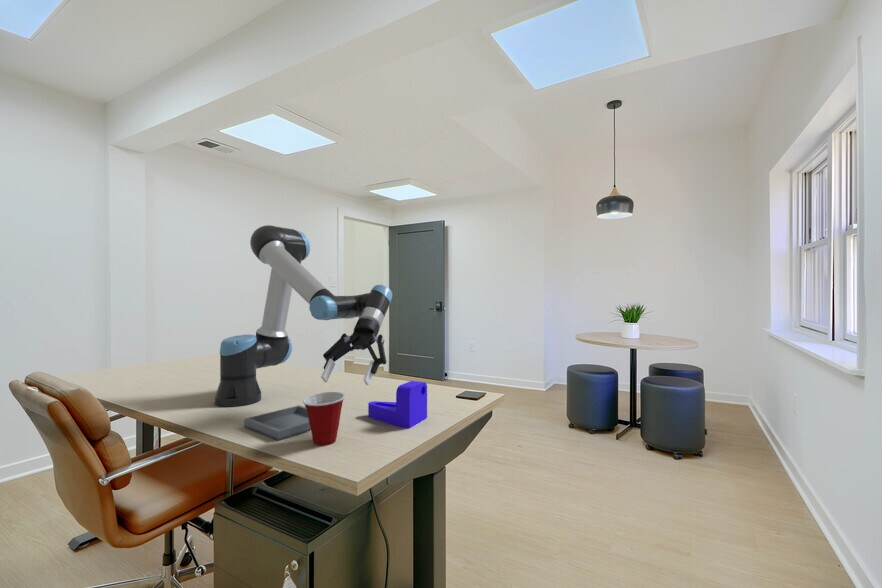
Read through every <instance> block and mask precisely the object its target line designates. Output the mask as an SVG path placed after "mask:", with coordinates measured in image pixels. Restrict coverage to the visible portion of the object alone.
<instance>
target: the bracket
mask: <svg viewBox="0 0 882 588" xmlns="http://www.w3.org/2000/svg"><path fill="white" fill-rule="evenodd" d="M395 399H396V400H395V401H377V400H375V401H369V402H368V403H367V404H368V406H367V408H368V409H367V411H368V413H367V415H368V418H371V419H372V420H376V421H379V422H382V423H385V424H388V425H390V426H394V427H397V426H398V427H397V428H403V429H409V428H410V429H412V428H413V427H415V426H416V424H417V425H419V424H420V423H421V421H422V422H423V421H425V420H427V419H428V384H427V382H425V381H415V380H411V381H407V382H405V383H402V384H399V385H398V387H397V388H396V392H395ZM426 418H427V419H426Z"/></svg>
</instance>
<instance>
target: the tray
mask: <svg viewBox="0 0 882 588" xmlns="http://www.w3.org/2000/svg"><path fill="white" fill-rule="evenodd" d="M243 420H244V428H245V429H248V430H250V431H253V432H255V433H258V434H261V435H262V434H263V436H265V435H266V436H265V437H267V436H268V438H270V437H271V438H270V439H272V438H273V440H276V441H277V440H278V441H277V442H279V441H282V440H286V439H288V438H289V437H290V438H293V437H296V436H299V435H301V433H302V434H305V433H304V432H306V433H308V432H307V431H309V432H311V431H310V430H311V429H310V424H309V418H308V413H307V410H306V407H305V405H304V406H303V405H299V404H298V405H295V406H290V407H286V408H282V409H279V410H274V411H271V412H266V413H262V414H258V415H254V416H250V417H247V418H246V417H245V418H244V419H243ZM298 434H299V435H298ZM295 435H296V436H295ZM292 436H293V437H292Z"/></svg>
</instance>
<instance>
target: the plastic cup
mask: <svg viewBox="0 0 882 588" xmlns="http://www.w3.org/2000/svg"><path fill="white" fill-rule="evenodd" d="M345 396H346V394H345V393H343V392H341V391H324V392H319V393H314V394H311V395H308V396H306V397H304V398H303V399H302V403H303V404H304V407H306V410H307V413H308V418H309V424H310V429H311V431H310V432H311V438H312V441H313V444H314V445H315V446H329V445H331V444H334V443H336V441H337V439H338V438H337V437H338V432H339V431H338V430H339V426H340V421H341V414H342V408H343V402H344V399H345Z"/></svg>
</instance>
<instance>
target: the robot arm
mask: <svg viewBox="0 0 882 588" xmlns="http://www.w3.org/2000/svg"><path fill="white" fill-rule="evenodd" d="M249 243H250V248H251V251H252V253H253V254H254V255H255V257H256V258H257V259H258V260H259V261H260V263H262V264H265V265H268V266H270V267H271V271H270V275H269V282H268V285H267V287H268V288H267V293H266V299H265V305H264V312H263V316H262V322H261V327H259V328H257V329H256V330H255V331H256V332H255V334H241V335H235V336H234V335H233V336H230V337H226V338H224V339H222V341H221V342H220V348H219V356H220V357H219V358H220V359H219V361H220V362H219V363H220V364H219V365H220V366H219V369H220V370H219V377H220V379H219V384H218V387H217V389H216V392H215V395H214V405H215V406H218V407H239V406H246V405H251V404H255V403H258V402H260V401H261V400H262V391H261V388H260V385H259V383H258V379H257V369H262V368H268V367H273V366H278V365H279V364H280V365H281V364H284V363H286V361H287V360H288V359H290V357H291V354H292V351H293V350H292V349H293V343H291V341H292V340H291V339H290V337H289V333H288V332H287V330H286V326H287V320H288V316H289V315H288V314H289V310H290V309H289V308H290V303H291V296H292V292H293V290H294V291H295V292H296V293H297V294H298V295H299V296H300V297H301V298H302V299H304V301H305V302H307V304H308V305H309V308H308V309H309V311H310V315H311V316H312V318H314V319H316V320H319V321H321V320H322V321H330V320H338V319H339V320H341V319H345V320H346V319H354V318H358V319H357V321H356V323H355V325H354V328H353V331H352V334H351V335H348V334H347V333H342V335H341V337H340V338H339V339H338V340H337V341H336V342H335V343H334V344H333V345H332V346H330V348H328V350H326V352H324V354H323V355H322V357H323V358H324V360H325V363H324V365H323V369H324V370H323V372H322V374H321V376H320V378H321V379H322V380H323V382H324V383H328V381H329V379H330V376H331V375H332V372H333V370H334V369H335V368H334V367H335V366H336V361H338V360H339V359H341V358H342V357H344V356H345V355H346V354H348V353H349V352H353V351H354V350H356V351H359V350H361V351H365V350H368V352H369V354H370V356H371V357H372V360H370V361H369V364H368V367H367V369H366V371H365V374H364V377H363V379H362V380H363V382H364V384H365V385H366V386H370V383H371V381H372V378H373V375H376V374H377V372H378V369H379V367H380V365H382V364H383V365H386V364H387V357H386V353H385V347H384V344H385V338H384V337H383V335H382V334H379V332H380V329H381V326H382V324H383V321H384V319H385V317H386V314H387V313H388V309H389V307H390V305H391V304H392V303H391V302H392V298H393V292H392V290H391V289H390V288H389V286H386V285H383V284H376V285H374V286H373V287H372V288H371V290H370V292H369V293H368V292H367V293H363V294H357V295H356V294H355V295H334V294H333V293H332V292H331V291H330V289H329V290H328V289H327V287H325V286H324V285H323V284H322V283H321V282H320V281H319V280H318V279H317V278H316V277H315V276H314V275H312V273H311V272H310V271H309V270H307V269H306V267H304V266H303V265H302V261H304V260H306V259H307V258H308V257H309V255H310V251H311V244H310V240H309V238H308V237H307V235H306V234H305V233H303V232H302V231H300V230H296V229H294V228H287V227H281V226H276V225H269V224H268V225H267V224H266V225H263V226H259V227H258V228H256V229H255V230H254V231H253V232H252V234H251V236H250V241H249ZM374 343H376V344H377V350H378V354H379V355H378V356H379V357H378V356H377V355H376V353H375V350H374V349H373V347H372V345H373V344H374ZM260 399H261V400H260ZM259 400H260V401H259ZM257 401H258V402H257Z"/></svg>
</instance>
